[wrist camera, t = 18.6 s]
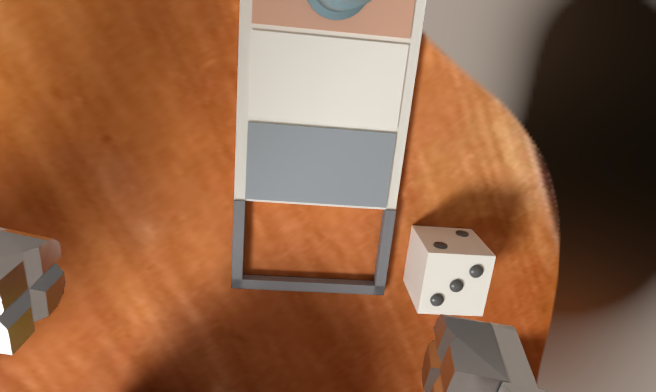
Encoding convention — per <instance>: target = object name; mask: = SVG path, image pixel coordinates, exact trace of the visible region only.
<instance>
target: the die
mask: <svg viewBox="0 0 656 392" xmlns="http://www.w3.org/2000/svg"><path fill="white" fill-rule="evenodd" d="M495 259H496V256H495V254H494V253H493V252H492V251H491V250H490V249H489V248H488V247H487V246H486V244H485V243H484V242H483V241H482V240H481V239H480V238H479V237H478V236H477V234H476V233H475V232H474V231H473V230H472V229H464V228H448V227H431V226H415V225H412V228H411V234H410V240H409V246H408V252H407V259H406V265H405V271H404V277H403V281H404V283H405V286H406V288H407V290H408V293H409V295H410V297H411V299H412V302H413V304H414V306H415V309H416V311H417V313H419V314H444V315H466V316H483V312H484V307H485V303H486V299H487V294H488V290H489V285H490V281H491V277H492V272H493V268H494V264H495Z"/></svg>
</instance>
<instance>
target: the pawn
mask: <svg viewBox="0 0 656 392" xmlns="http://www.w3.org/2000/svg"><path fill="white" fill-rule="evenodd" d="M307 1H308V3H309V5H310V6H311V8H312V9H313V10H314V11H315V12H316V13H317V14H319V15H320V16H322V17H324V18H326V19H330V20H343V19H347V18H350V17H352V16H354V15H355V14H357V13H358V12H359V11H360V10H361V9H362V8H363V7H364V6H365V4H367V3H369V2H370V1H371V0H307Z"/></svg>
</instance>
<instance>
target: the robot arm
mask: <svg viewBox="0 0 656 392" xmlns="http://www.w3.org/2000/svg"><path fill="white" fill-rule="evenodd" d="M61 257H62V252H61V246H60V243H59V242H58V241H57V240H55V239H53V238H49V237H44V236H39V235H35V234H30V233H26V232H21V231H16V230H12V229H6V228H1V227H0V353H2V354H8V355H13V354H14V353H15V352H16V351H17V350H18V349H19V348H20V347H21V345H22V344H23V343H24V342H25V341H26V340H27V339H28V338H29V337H30V336H31V335H32V334H33V333H34V331H35V325H34V322H36V321H38V320H41V319H43V318H45V317H48V316H49V315H50V314H51V313H52V312H53V311H54V309H55V308H56V307H57V306H58V304H59V302H60V300H61V297H62V295H63V293H64V286H65V277H64V272H63V271H62V270H61V269H60V267H59V266H58V265H57V264H56V262H57V261H58V260H59V259H60V258H61ZM434 333H435V340H433V341H432V342H430V343H429V344H428V346H427V349H426V352H425V356H424V361H423V368H422V383H423V390H424V391H425V392H547V391H546V390H542V389H538V386H537V383H536V381H535V378H534V375H533V373H532V370H531V368H530V365H529V362H528V360H527V357H526V355H525V352H524V349H523V347H522V344H521V341H520V339H519V336H518V334H517V331H516V329H515V328H514V327H513V326H509V325H503V324H497V323H491V322H488V323H486V322H481V321H476V320H471V319H466V318H460V317H455V316H450V315H444V314H440V316H439V317H438V319H437V321H436V324H435V326H434Z"/></svg>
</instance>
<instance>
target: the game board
mask: <svg viewBox="0 0 656 392" xmlns="http://www.w3.org/2000/svg"><path fill="white" fill-rule="evenodd" d="M426 2H427V0H371V1H370V2H369V3H367V4H365V6H364V7H363V8H362V9H361V10H360V11H359V12H358V13H357V14H355V15H354V16H352V17H350V18H347V19H343V20H330V19H326V18H324V17H322V16H320V15H319V14H317V13H316V12H315V11H314V10H313V9H312V8H311V6H310V5H309V3H308V1H307V0H240V13H239V48H238V82H237V117H236V151H235V186H234V212H233V246H232V281H231V288H238V289H260V290H281V291H303V292H325V293H347V294H369V295H384V290H385V284H386V277H387V270H388V263H389V257H390V250H391V243H392V236H393V229H394V223H395V216H396V205H397V199H398V192H399V185H400V178H401V172H402V165H403V158H404V151H405V144H406V138H407V131H408V124H409V117H410V111H411V104H412V97H413V90H414V83H415V77H416V70H417V63H418V56H419V49H420V43H421V36H422V29H423V22H424V16H425V9H426ZM246 201H258V202H274V203H290V204H306V205H321V206H337V207H353V208H369V209H383V216H382V223H381V231H380V238H379V245H378V252H377V259H376V267H375V274H374V281H367V280H346V279H326V278H305V277H284V276H264V275H243V265H244V239H245V212H246Z"/></svg>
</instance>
